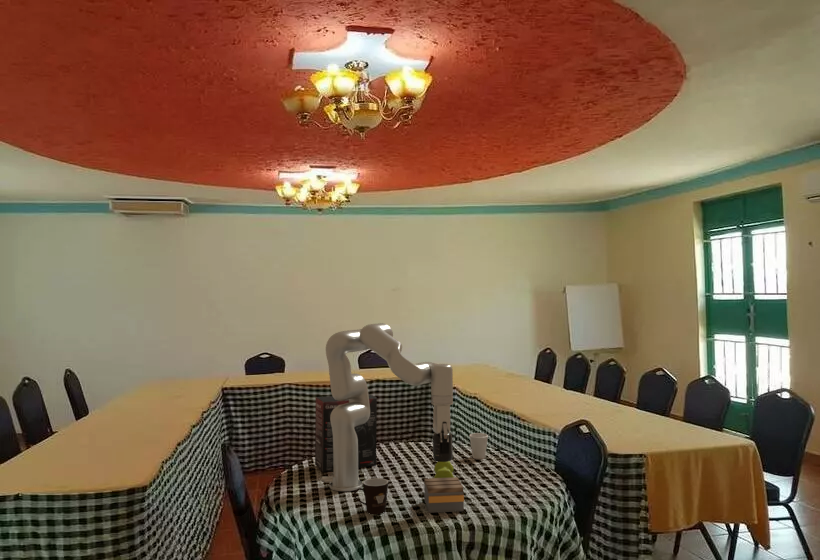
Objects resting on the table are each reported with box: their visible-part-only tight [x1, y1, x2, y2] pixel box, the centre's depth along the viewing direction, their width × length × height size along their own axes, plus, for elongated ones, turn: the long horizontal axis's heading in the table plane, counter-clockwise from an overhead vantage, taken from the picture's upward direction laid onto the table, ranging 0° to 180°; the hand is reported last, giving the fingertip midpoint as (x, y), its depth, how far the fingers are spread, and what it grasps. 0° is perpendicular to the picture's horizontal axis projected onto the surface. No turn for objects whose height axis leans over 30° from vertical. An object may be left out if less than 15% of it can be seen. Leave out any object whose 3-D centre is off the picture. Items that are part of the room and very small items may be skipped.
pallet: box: [423, 476, 464, 493], centre depth 222 cm, size 12×12×2 cm
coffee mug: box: [353, 477, 389, 515], centre depth 218 cm, size 12×9×10 cm
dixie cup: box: [469, 432, 489, 460], centre depth 284 cm, size 8×8×10 cm
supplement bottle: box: [432, 426, 454, 462], centre depth 223 cm, size 7×7×12 cm
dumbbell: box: [433, 461, 455, 478], centre depth 249 cm, size 16×8×7 cm, turn 177°
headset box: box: [314, 393, 378, 473], centre depth 274 cm, size 24×13×33 cm, turn 115°
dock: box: [423, 483, 465, 514], centre depth 222 cm, size 12×13×6 cm
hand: (442, 450), depth 222 cm, fingers closed on supplement bottle, 6 cm apart
